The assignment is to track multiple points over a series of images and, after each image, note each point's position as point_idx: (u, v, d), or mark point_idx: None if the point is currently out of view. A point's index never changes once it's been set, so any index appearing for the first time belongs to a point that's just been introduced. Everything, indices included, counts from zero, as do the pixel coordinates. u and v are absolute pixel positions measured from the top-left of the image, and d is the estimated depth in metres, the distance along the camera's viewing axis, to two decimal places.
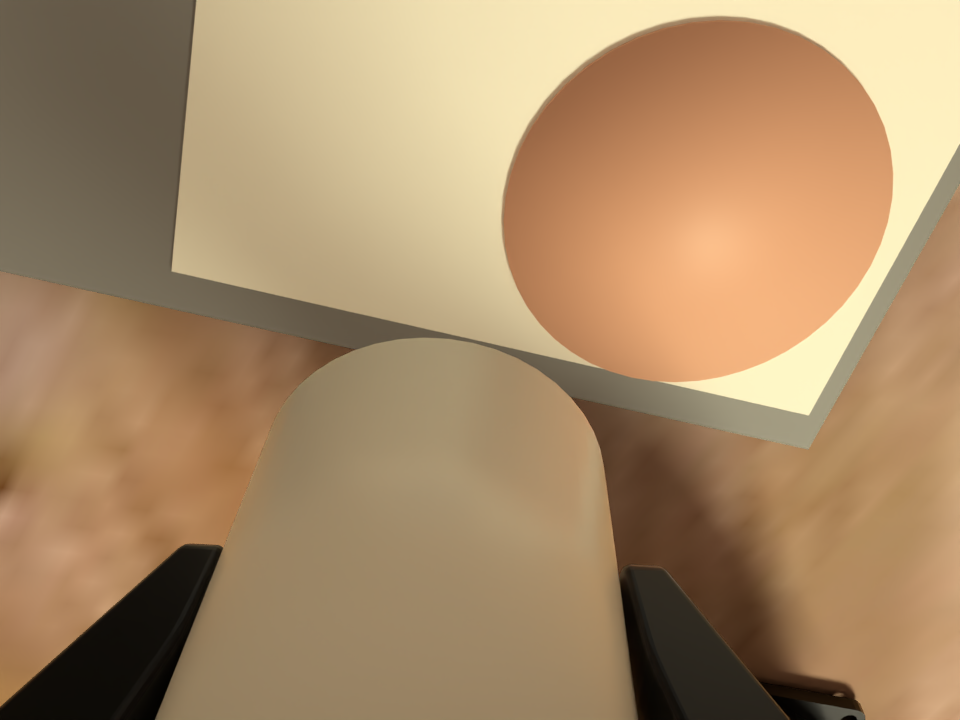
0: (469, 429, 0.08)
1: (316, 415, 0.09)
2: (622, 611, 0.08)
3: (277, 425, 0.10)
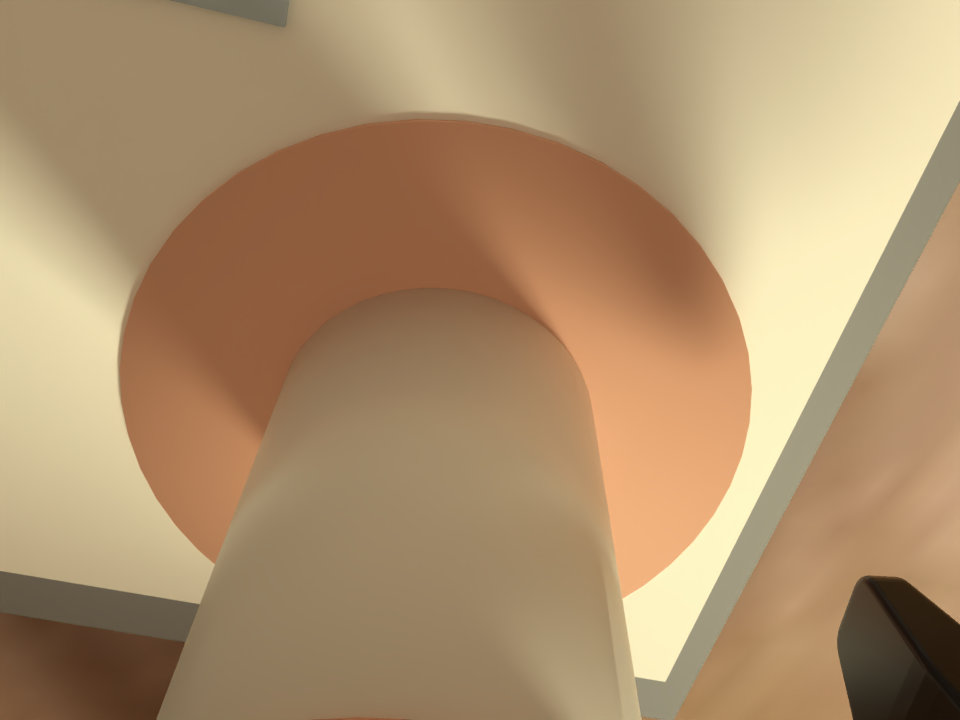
0: (470, 362, 0.09)
1: (331, 355, 0.10)
2: (609, 524, 0.09)
3: (294, 368, 0.11)
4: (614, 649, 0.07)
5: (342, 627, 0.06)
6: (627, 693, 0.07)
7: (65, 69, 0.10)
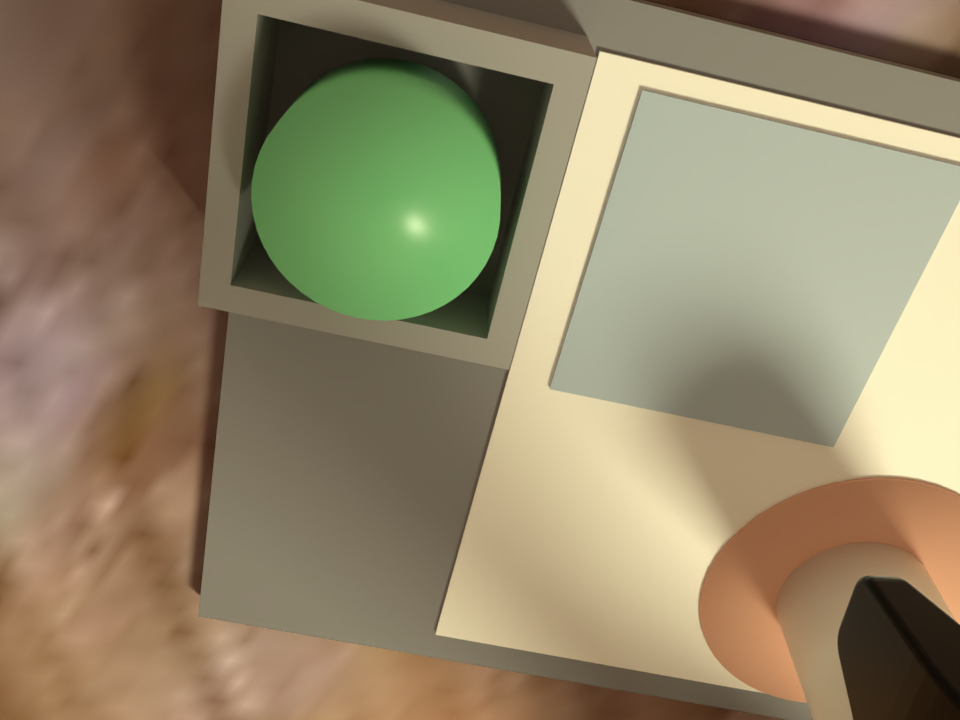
0: None
1: (837, 579, 0.22)
2: None
3: (805, 580, 0.23)
4: None
5: None
6: None
7: (728, 457, 0.22)
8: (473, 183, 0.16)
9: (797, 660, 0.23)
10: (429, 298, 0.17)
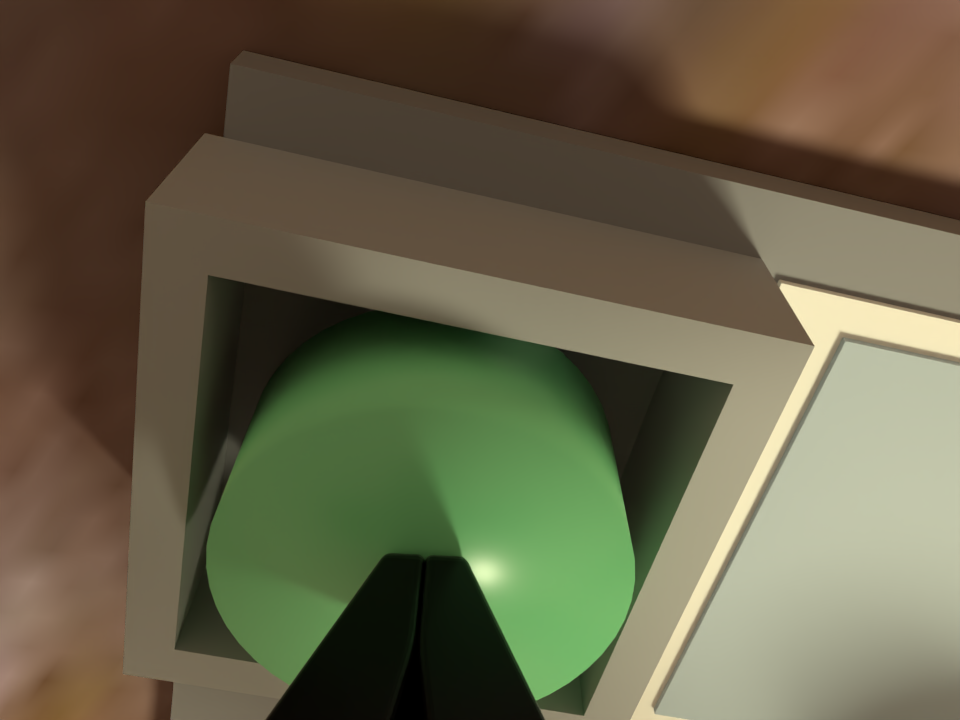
0: None
1: None
2: None
3: None
4: None
5: None
6: None
7: None
8: (592, 549, 0.09)
9: None
10: None
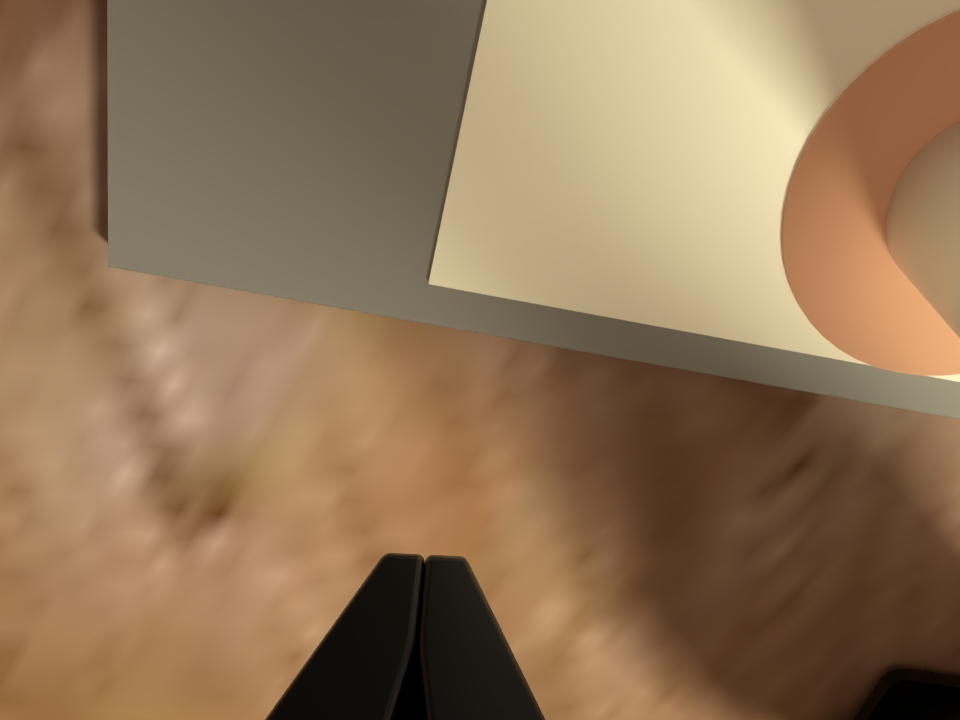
0: None
1: None
2: None
3: (934, 158, 0.17)
4: None
5: None
6: None
7: None
8: None
9: (929, 257, 0.16)
10: None
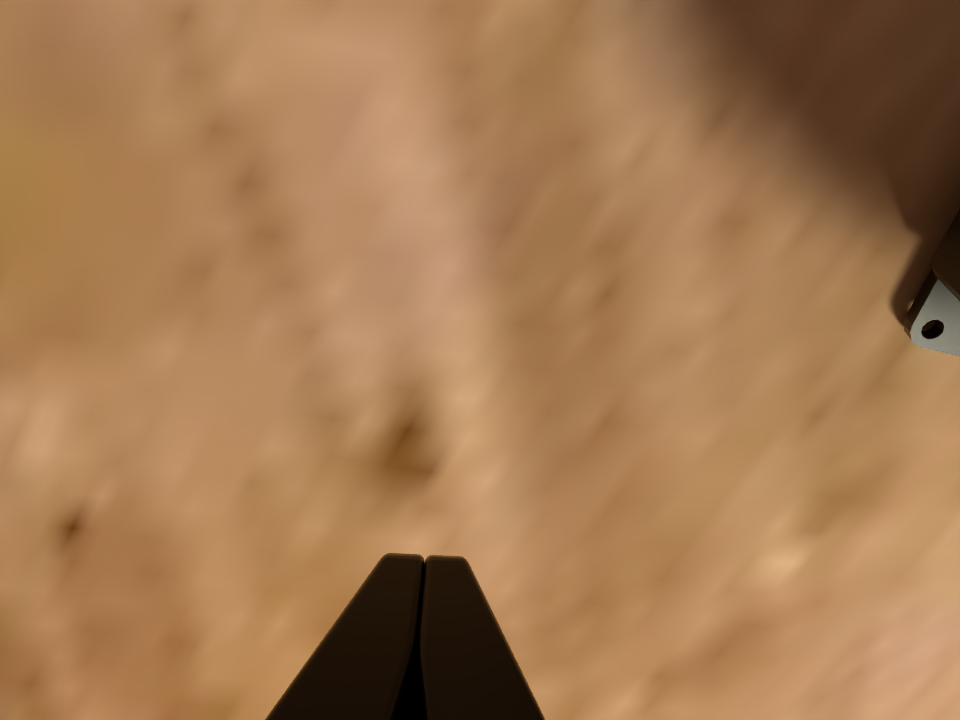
0: None
1: None
2: None
3: None
4: None
5: None
6: None
7: None
8: None
9: None
10: None
